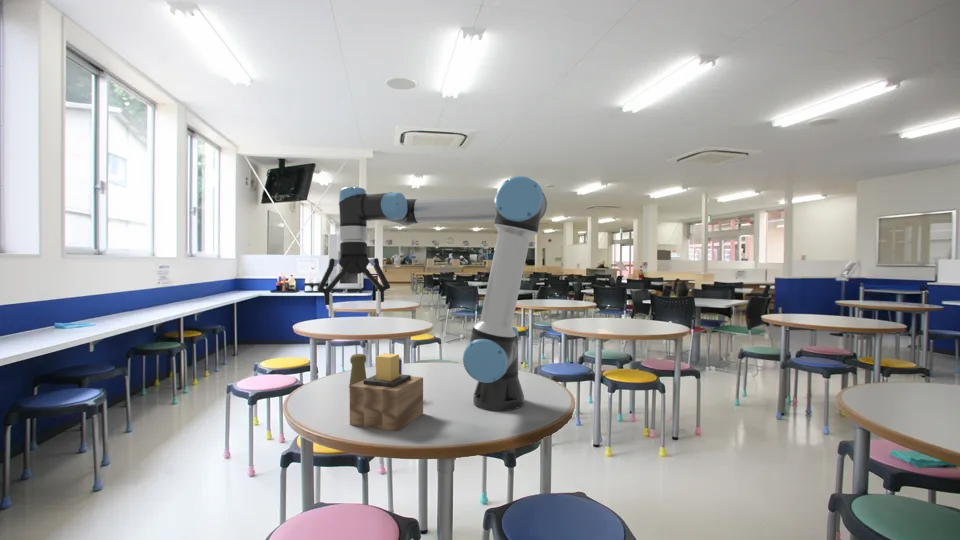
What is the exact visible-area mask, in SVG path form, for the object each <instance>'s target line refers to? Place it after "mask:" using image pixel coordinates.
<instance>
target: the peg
mask: <svg viewBox="0 0 960 540" xmlns="http://www.w3.org/2000/svg"><path fill="white" fill-rule="evenodd" d="M399 357H400V354H398V353H382V354H379V355H376V356H375V375H376V380H384V381H393V380H395V379H397V378H399Z"/></svg>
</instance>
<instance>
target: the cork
mask: <svg viewBox="0 0 960 540" xmlns="http://www.w3.org/2000/svg"><path fill="white" fill-rule="evenodd" d="M349 361H350V364H351V370H350V378H349V384H348V385H349V386H348V388H349V389H350V386H351V385H353V384H355V383H358V382H360V381H362V380H365V379H367V378H368V377H367V372H366V363H367V362H366V361H367V356H366V355H365V354H364V353H355V354H352V355H351V356H350V359H349Z"/></svg>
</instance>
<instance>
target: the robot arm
mask: <svg viewBox="0 0 960 540" xmlns="http://www.w3.org/2000/svg"><path fill="white" fill-rule="evenodd" d="M547 206H548V201H547V197H546V195H545V193H544V191H543V190H542V188H541V185H539V183H538V182H537V181H535V180H533V179H532V178H530V177H527V176H524V175H515V176H513V177H509V178H508V179H506V180H505V181H503V182H502V184H500V186H499V187H498V189H497V192H496V194H495V195H479V196H478V195H477V196H476V195H475V196H474V195H473V196H456V197H455V196H453V197H431V198H416V199H415V198H413V199H412V198H409V199H408V198H406V197H405V195H404V194H403V193H402V192H392V191H389V192H383V193H368V194H367V191H366V189H365V188H363V187H359V186H354V187H353V186H352V187H351V186H348V187H347V186H346V187H342V188H341V189H340V190H339V199H338V207H339V208H338V209H339V240H340V241H342V242H340V244H339V250H340V251H339V252H340V253H339V255H340V257H339V259H335V258H329V259H328V265H327V268H326V269H325V272H324V274H323V276H322V278H321V280H320V283H319V284H318V286H317V290H316V291H318V292H321V293H323V296H324V297H323V298H324V305H325V306H328V317H329V318H333V317H334V309H333V308H334V307H333V306H334V305H333V304H334V303H333V293H332V291H333V290H334V288H335V286H336V285H337V284H338V283H339V281H341V279H342V278H343V277H344V276H345V275H346V274H347V275H352V274H356V275H359V274H363V275H364V276H365V277H366V278H367V280H369V281H370V283H372V284H373V285H374V287H375V288H376V289H377V290H378V291H375V304H376V305H375V307H376V308H375V310H376V312H375V313H376V314H377V315H381V314H382V303H384V302H385V291H387V290H389V289H391V285H390V283H389V281H388V280H387V278H386V276H385V274H384V272H383V270H382V268H381V266H380V260H379V258H378V257H374V258H371V259H370V258H369V257H368V243H367V242H366V241H367V240H368V229H367V228H368V226H367V225H368V223H367V222H370V221H388V222H392V223H396V224H400V225H403V226H410V225H414V224H435V223H436V224H437V223H443V224H444V223H470V222H471V223H475V222H477V223H478V222H479V223H481V222H494V223H493V226H494V228H495V229H496V230H497V237H496V241H495V242H496V243H495V247H494V252H493V257H492V261H491V267H490V272H489V276H488V281H487V286H486V290H485V295H484V301H483V305H482V309H481V314H480V318H479V319H480V320H478V322H476V323H474V324H473V325H472V329H471V334H470V340H469V343H468V344H467V345H466V347H465V348H464V349H465V350H464V351H463V354H462V364H463V367H464V370H465V371H466V373H467V374H468V375H469V376H470V377H471V378H472V379H473V380H475V381H477V383H476V387H475V390H474V392H473V404H474V406H476V407H477V408H479V409H483V410H488V411H511V410H516V409H519V408H522V407H524V404H525V395H524V391H523V389H522V385H521V383H520V378H519V339H520V336H519V330H518V327H516V326H513V323H514V322H513V321H514V316H515V313H516V308H517V304H518V303H517V302H518V298H519V293H520V289H521V284H522V279H523V275H524V269H525V265H526V260H527V257H528V256H527V255H528V251H529V246H530V242H531V239H532V238H534V237H535V236H537V234H538V231H539V227H540V222H541V220H542V219H543V218H544V216H545V214H546V211H547V208H548V207H547ZM337 265H339V266H340V267H341V269H340V270H339V272H338V273H337V275H336V276H334V278H333V279H332V280H331V282H330V283H329V284H328V285H327V287H326V288H325V286H326V284H327V283H328V281H329V279H330V276H331V274H332V272H333V270H334V267H335V268H336V267H337ZM368 265H370V266H372V267H373V269H374V270H375V272H376V274H377V276H378V279H379V280H380V282H381V283H380V282H379V281H378V279H376V277H375V276H374V275H373V274H372V273H371V271H370V270H369V269H368V268H367V267H368ZM330 292H331V293H330Z"/></svg>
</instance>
